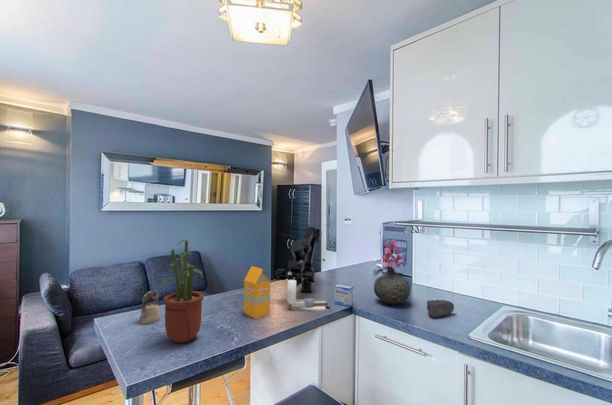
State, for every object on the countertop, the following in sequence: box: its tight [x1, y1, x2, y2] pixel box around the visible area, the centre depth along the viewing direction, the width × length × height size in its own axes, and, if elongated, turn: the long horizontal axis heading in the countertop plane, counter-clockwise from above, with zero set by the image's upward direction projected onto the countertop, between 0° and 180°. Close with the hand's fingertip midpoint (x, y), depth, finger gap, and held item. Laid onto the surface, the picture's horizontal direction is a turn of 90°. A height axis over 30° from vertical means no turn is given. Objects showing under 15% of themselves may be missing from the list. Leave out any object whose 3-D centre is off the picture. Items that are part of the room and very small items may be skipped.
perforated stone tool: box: [426, 299, 455, 318], centre depth 128 cm, size 15×5×7 cm, turn 109°
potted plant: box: [155, 239, 205, 344], centre depth 103 cm, size 17×16×35 cm
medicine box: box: [334, 284, 354, 308], centre depth 140 cm, size 8×4×9 cm, turn 62°
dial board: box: [290, 298, 333, 313], centre depth 136 cm, size 12×19×1 cm, turn 84°
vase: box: [373, 240, 411, 306], centre depth 143 cm, size 17×17×30 cm
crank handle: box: [286, 279, 329, 307], centre depth 134 cm, size 19×4×12 cm, turn 100°
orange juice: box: [243, 265, 271, 319], centre depth 126 cm, size 8×9×20 cm
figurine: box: [139, 290, 161, 325], centre depth 117 cm, size 7×7×12 cm
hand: (291, 291), depth 135 cm, fingers closed
